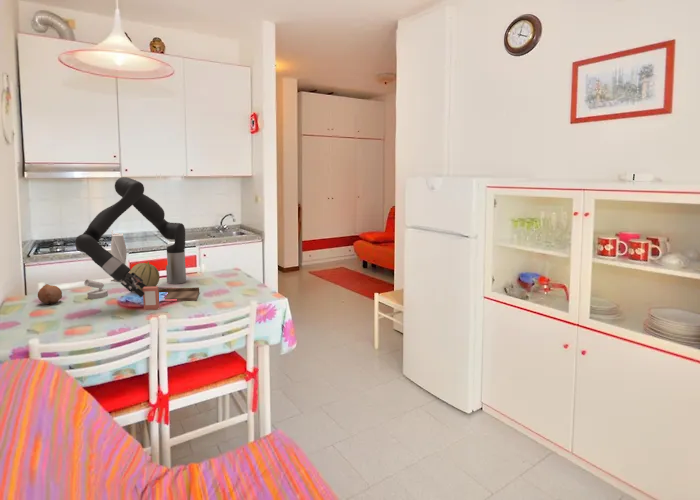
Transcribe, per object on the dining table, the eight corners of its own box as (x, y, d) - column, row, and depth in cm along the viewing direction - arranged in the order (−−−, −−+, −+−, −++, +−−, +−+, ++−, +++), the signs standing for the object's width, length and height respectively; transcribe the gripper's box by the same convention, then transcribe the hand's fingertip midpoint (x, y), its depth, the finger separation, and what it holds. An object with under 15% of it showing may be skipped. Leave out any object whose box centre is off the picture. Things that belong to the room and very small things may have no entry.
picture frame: (143, 310, 201) (142, 288, 199) (145, 307, 204) (144, 286, 202) (158, 309, 202) (156, 288, 201) (159, 307, 206) (158, 286, 204)
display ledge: (152, 302, 212) (151, 296, 212) (157, 294, 225) (157, 288, 224) (196, 300, 216) (195, 294, 216) (199, 293, 229) (199, 287, 228)
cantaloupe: (122, 292, 227) (120, 263, 225) (145, 285, 241) (143, 258, 238) (144, 296, 222) (142, 266, 219) (166, 288, 235) (165, 261, 233)
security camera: (79, 278, 215) (98, 274, 224) (81, 297, 217) (100, 292, 226) (91, 281, 212) (110, 276, 221) (92, 300, 214) (111, 295, 222)
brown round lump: (45, 308, 210) (39, 288, 210) (67, 301, 213) (60, 281, 213) (38, 307, 201) (31, 286, 201) (60, 299, 204) (54, 279, 204)
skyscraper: (109, 280, 249) (104, 231, 244) (121, 277, 256) (117, 229, 251) (120, 282, 246) (116, 232, 241) (132, 279, 253) (128, 230, 248)
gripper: (117, 266, 190) (147, 291, 195) (126, 259, 204) (154, 282, 209) (104, 278, 190) (135, 303, 195) (115, 271, 204) (143, 294, 209)
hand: (145, 292), depth 202 cm, fingers open, 8 cm apart
